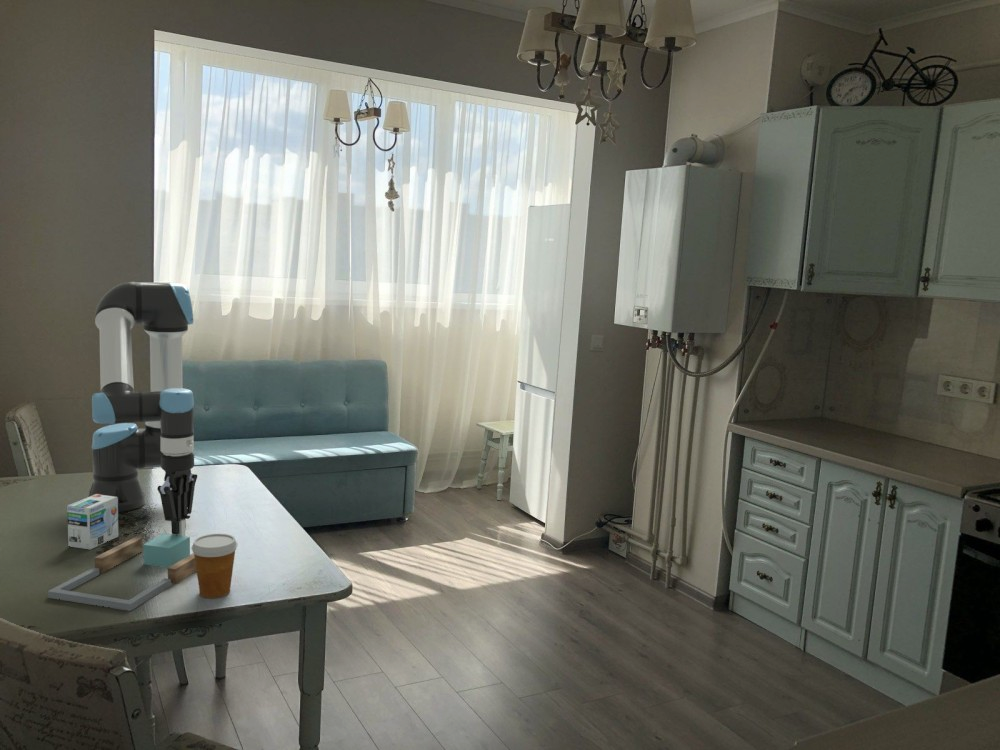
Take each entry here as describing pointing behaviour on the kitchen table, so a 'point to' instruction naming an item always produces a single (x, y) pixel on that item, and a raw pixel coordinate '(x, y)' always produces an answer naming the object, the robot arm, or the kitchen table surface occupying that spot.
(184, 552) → the teal block
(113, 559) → the wooden guide rails
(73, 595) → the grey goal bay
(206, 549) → the disposable coffee cup
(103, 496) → the light bulb box
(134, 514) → the kitchen table surface
